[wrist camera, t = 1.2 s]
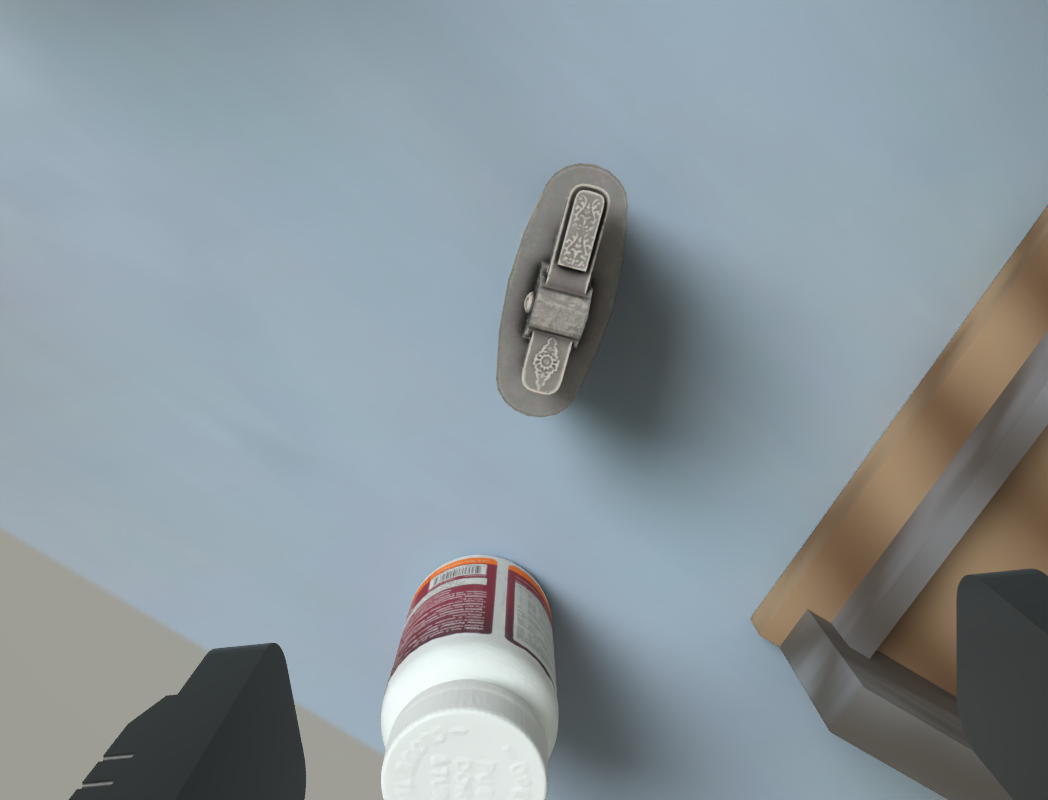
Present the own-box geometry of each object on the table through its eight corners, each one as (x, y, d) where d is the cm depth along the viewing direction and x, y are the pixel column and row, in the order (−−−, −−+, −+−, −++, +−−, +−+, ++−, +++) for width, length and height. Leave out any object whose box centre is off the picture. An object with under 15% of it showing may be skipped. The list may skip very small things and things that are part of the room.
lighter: (567, 385, 35) (584, 449, 25) (487, 364, 34) (472, 421, 25) (621, 188, 33) (662, 175, 23) (537, 166, 33) (542, 142, 23)
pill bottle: (390, 651, 37) (331, 834, 26) (441, 528, 36) (403, 665, 25) (519, 700, 38) (516, 900, 26) (574, 581, 36) (596, 738, 25)
